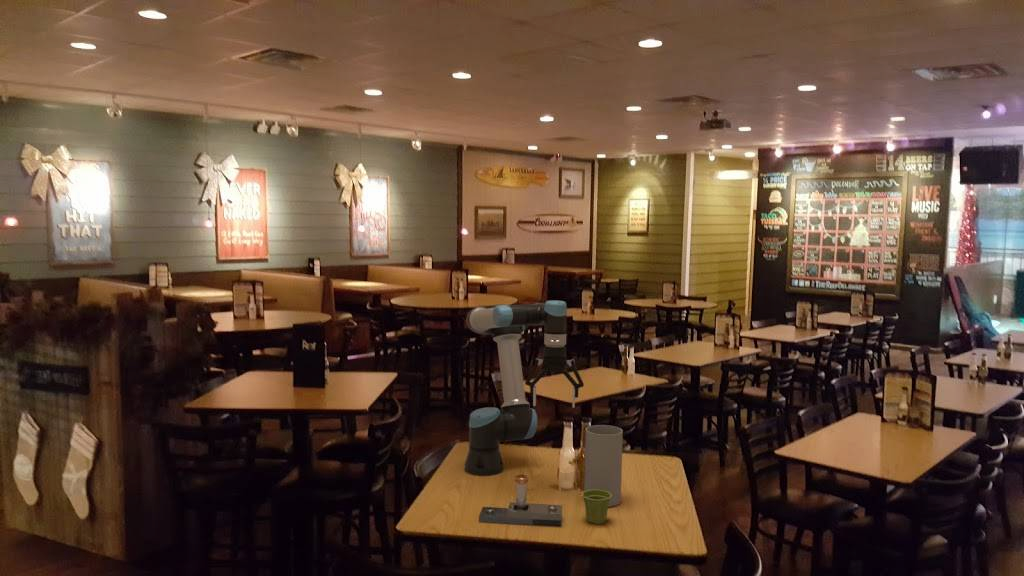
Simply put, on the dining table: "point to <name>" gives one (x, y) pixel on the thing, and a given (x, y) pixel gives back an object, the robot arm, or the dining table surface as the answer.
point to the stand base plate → (524, 515)
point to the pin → (521, 491)
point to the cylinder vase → (604, 460)
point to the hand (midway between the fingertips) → (553, 406)
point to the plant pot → (596, 505)
